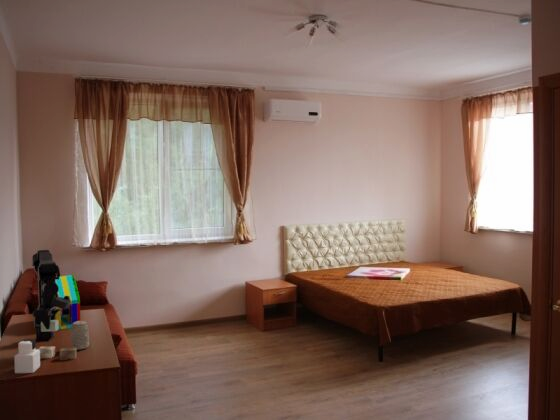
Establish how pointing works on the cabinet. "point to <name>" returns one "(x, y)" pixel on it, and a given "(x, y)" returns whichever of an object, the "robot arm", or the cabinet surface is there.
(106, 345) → the cabinet surface
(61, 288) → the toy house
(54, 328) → the sage brick
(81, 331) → the carving
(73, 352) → the walnut brick
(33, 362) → the medicine bottle
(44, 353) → the birch brick
